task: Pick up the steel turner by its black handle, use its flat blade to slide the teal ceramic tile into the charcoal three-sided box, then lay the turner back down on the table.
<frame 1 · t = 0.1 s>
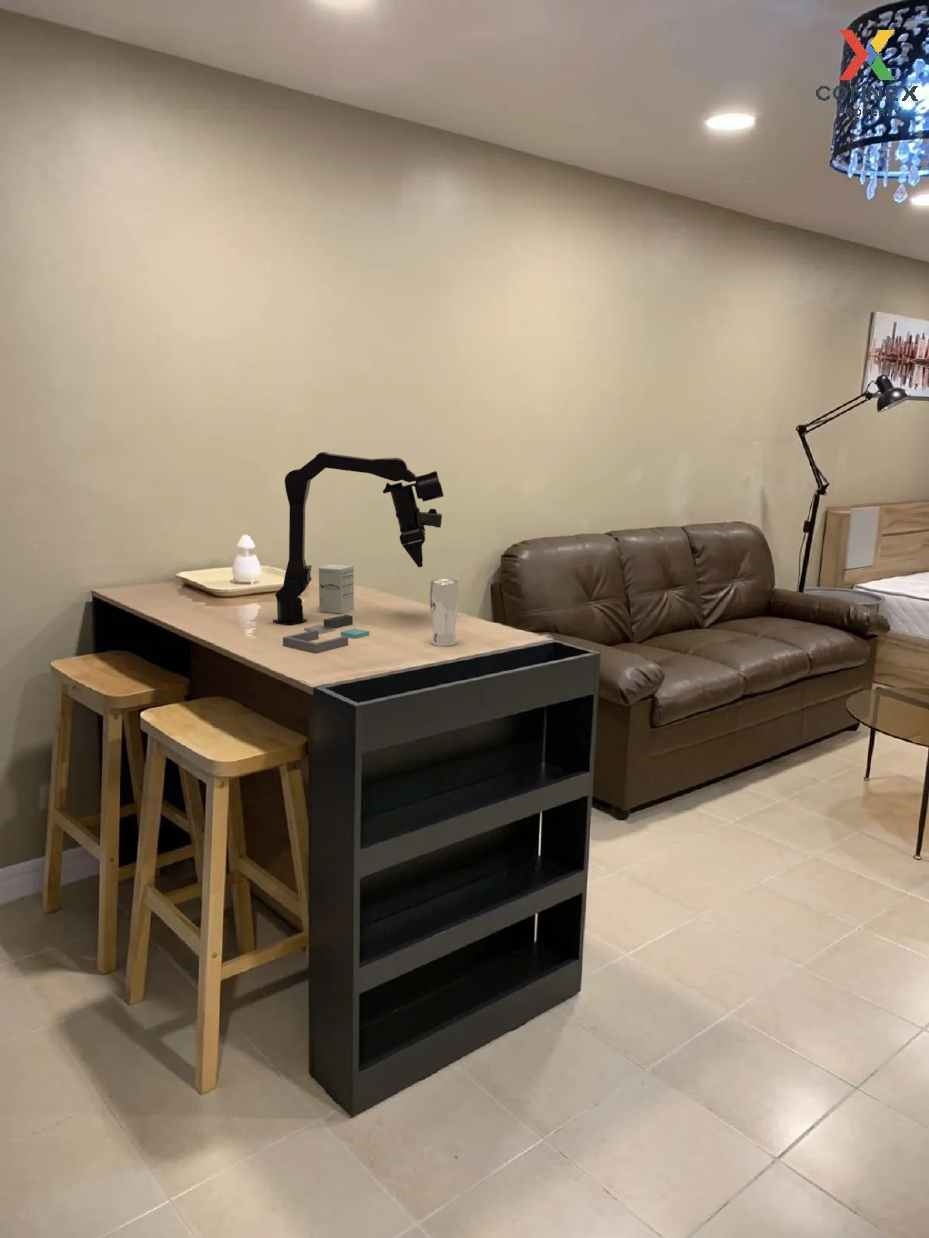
hand: (420, 564, 235), 15 cm above the worktop, tool pointing down, fingers open, 9 cm apart
tile: (355, 637, 223), on the worktop
turner: (331, 628, 231), on the worktop
supplement box: (337, 611, 252), on the worktop
corral: (317, 644, 213), on the worktop
beer glass: (444, 643, 216), on the worktop
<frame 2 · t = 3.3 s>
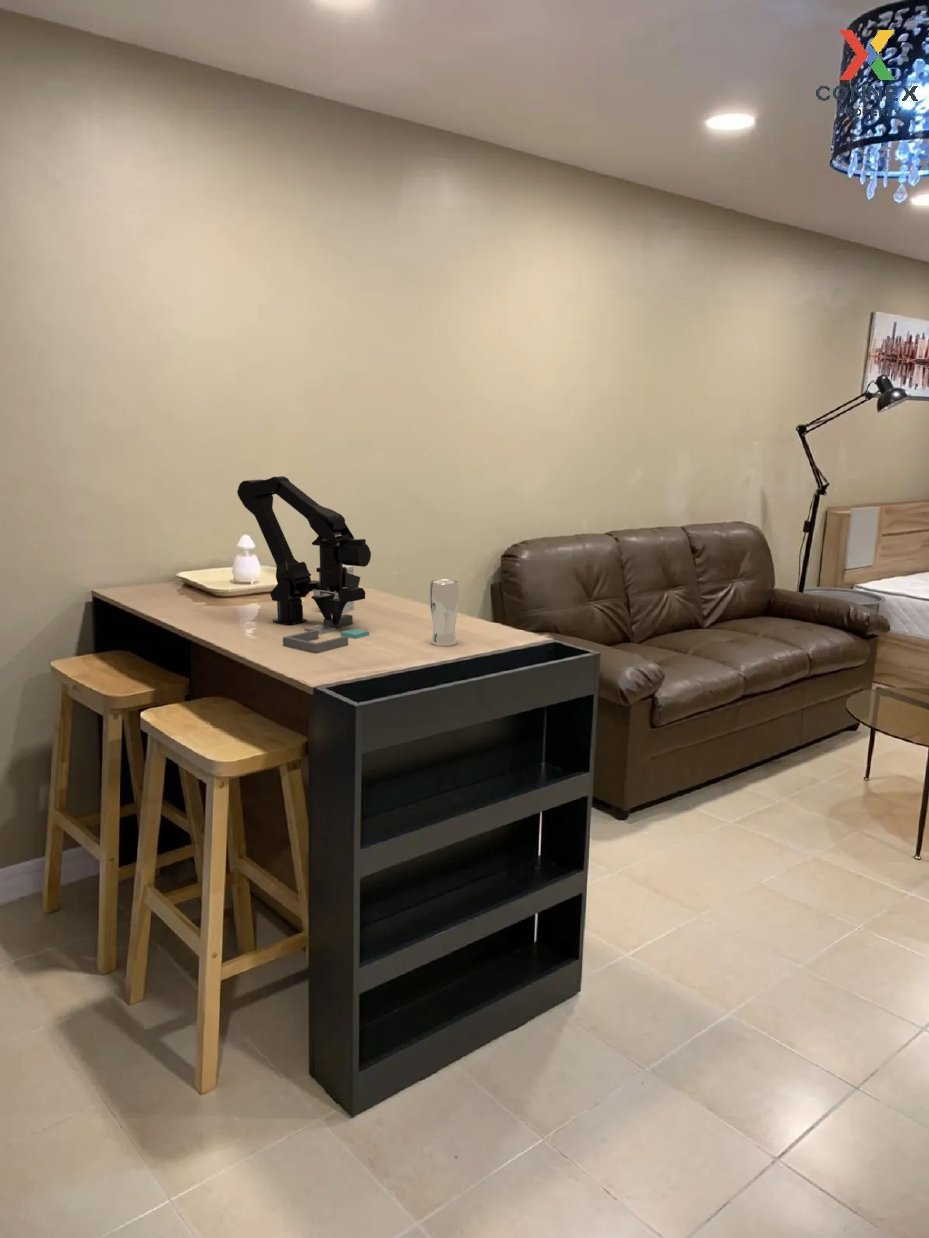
hand: (332, 623, 231), 1 cm above the worktop, tool pointing down, fingers closed on turner, 2 cm apart
turner: (331, 628, 231), on the worktop, touching gripper
everything else where it was.
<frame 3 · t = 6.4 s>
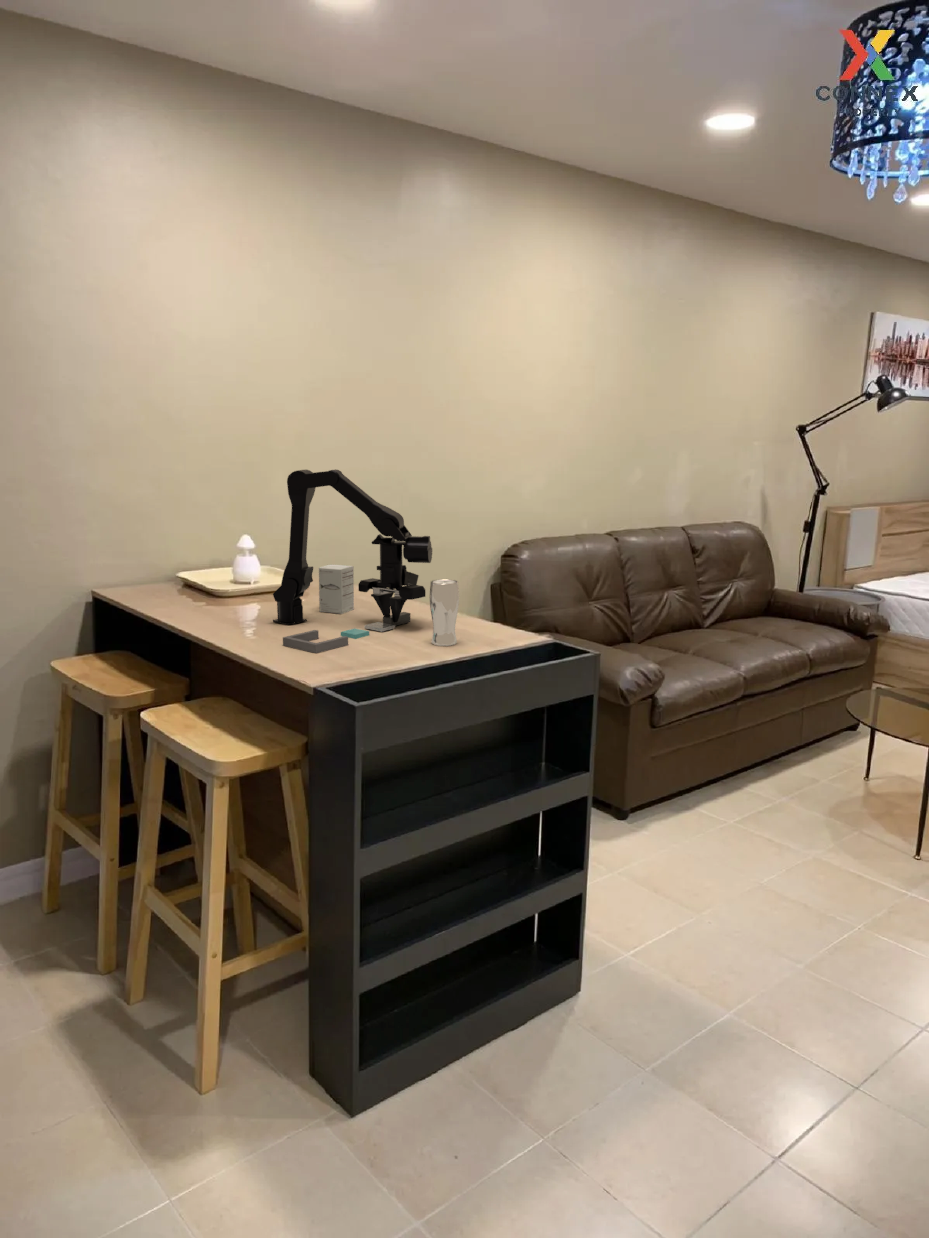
hand: (391, 621, 233), 1 cm above the worktop, tool pointing down, fingers closed on turner, 2 cm apart
turner: (390, 625, 233), on the worktop, touching gripper
everything else where it was.
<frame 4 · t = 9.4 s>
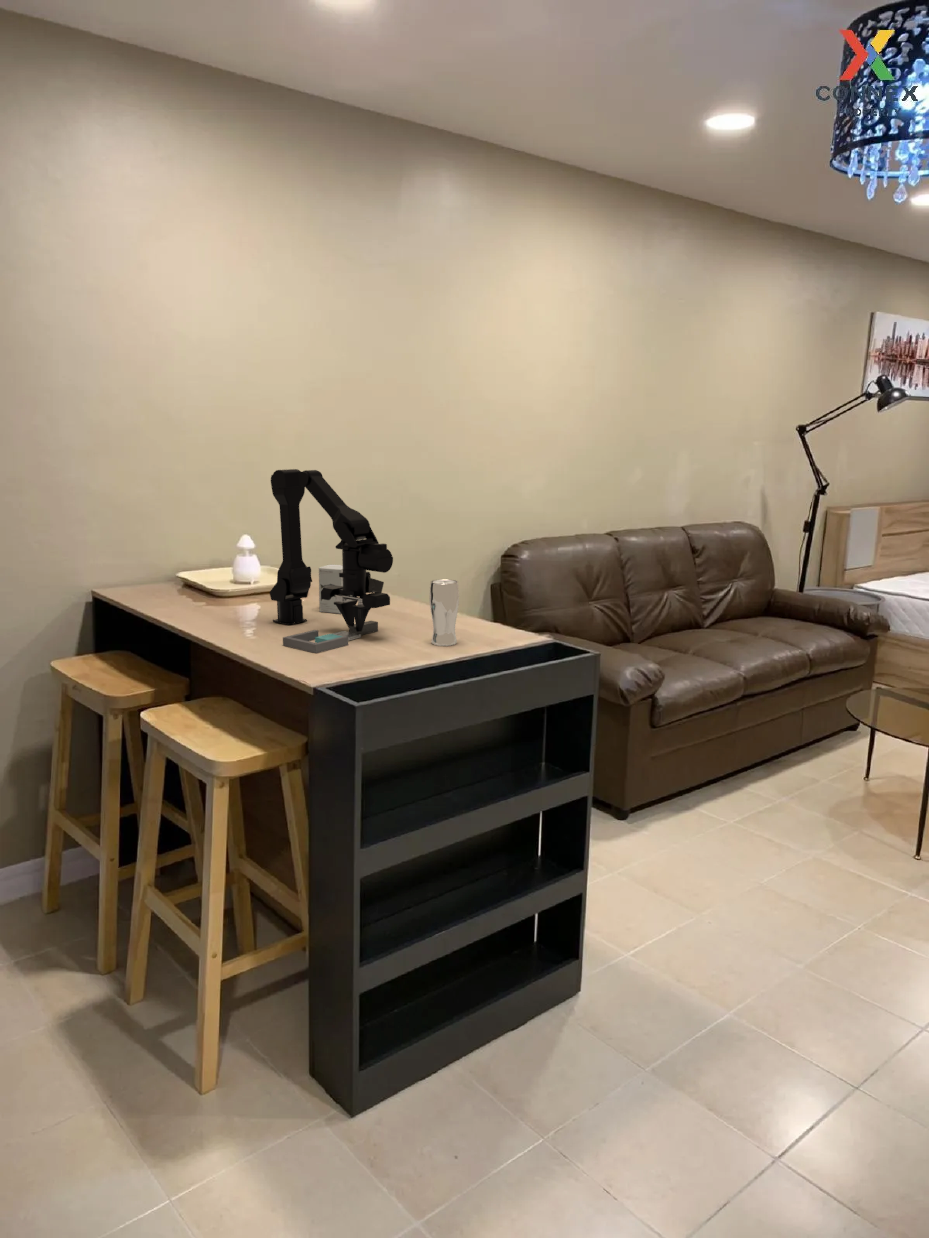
hand: (355, 630, 223), 1 cm above the worktop, tool pointing down, fingers closed on turner, 2 cm apart
tile: (329, 643, 216), on the worktop, touching turner
turner: (356, 634, 223), on the worktop, touching gripper, tile
everything else where it was.
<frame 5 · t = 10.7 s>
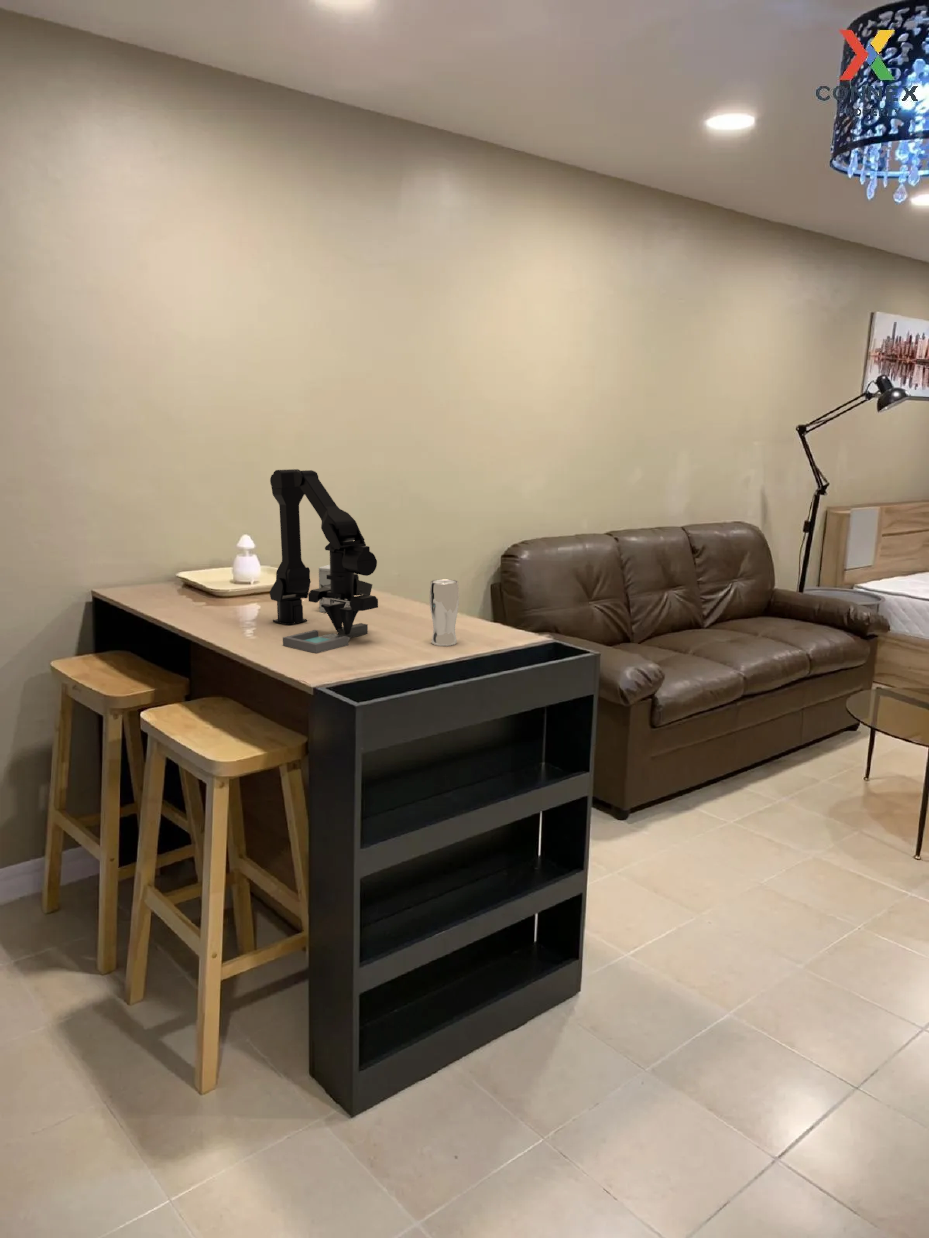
hand: (343, 633, 220), 1 cm above the worktop, tool pointing down, fingers closed on turner, 2 cm apart
tile: (318, 646, 213), on the worktop
turner: (345, 637, 220), on the worktop, touching gripper
everything else where it was.
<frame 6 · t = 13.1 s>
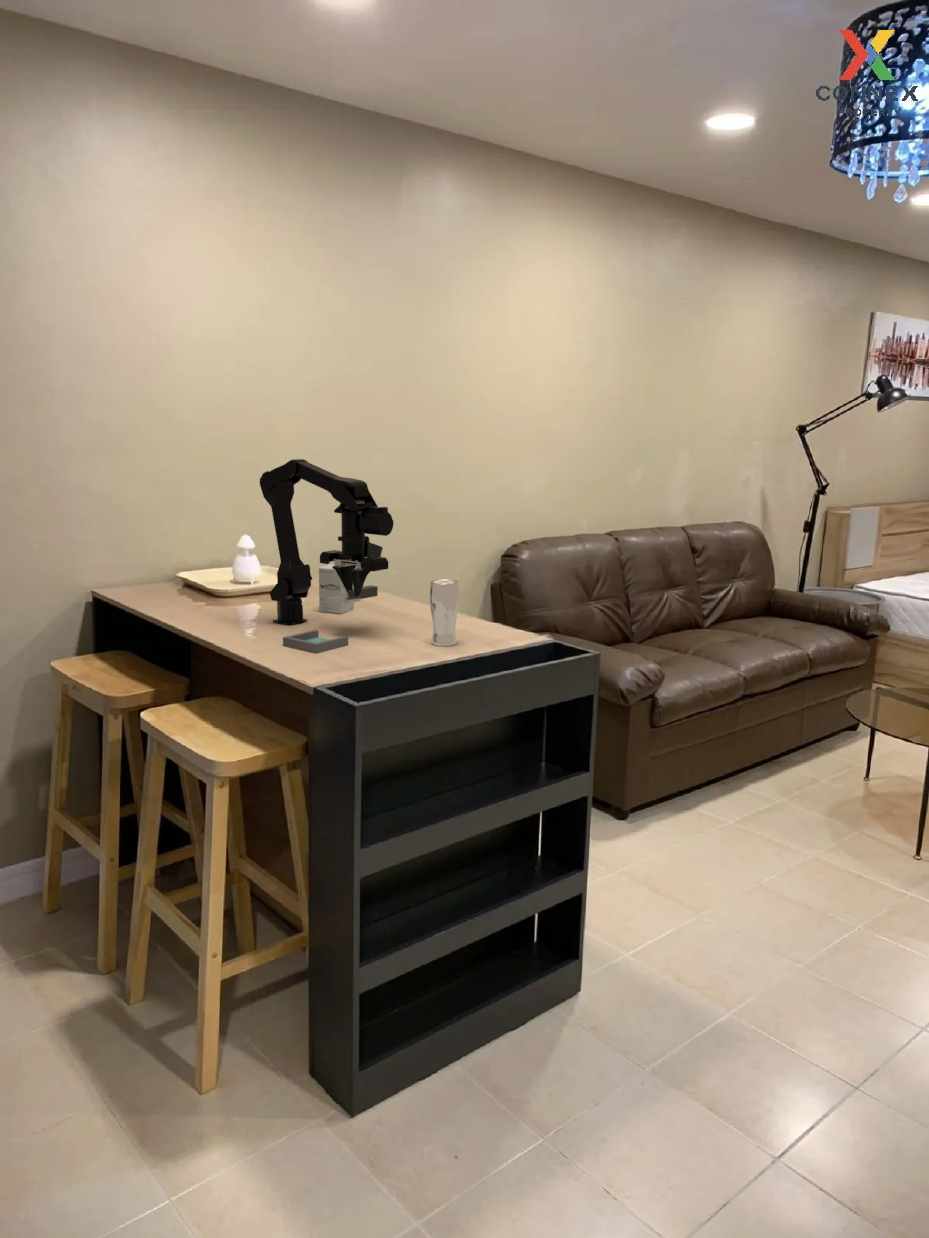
hand: (353, 594, 224), 10 cm above the worktop, tool pointing down, fingers closed on turner, 2 cm apart
turner: (355, 598, 224), point 9 cm above the worktop, touching gripper
everything else where it was.
when the fingers open (2 cm above the worktop, at t = 15.2 s): turner drops 2 cm, on the worktop.
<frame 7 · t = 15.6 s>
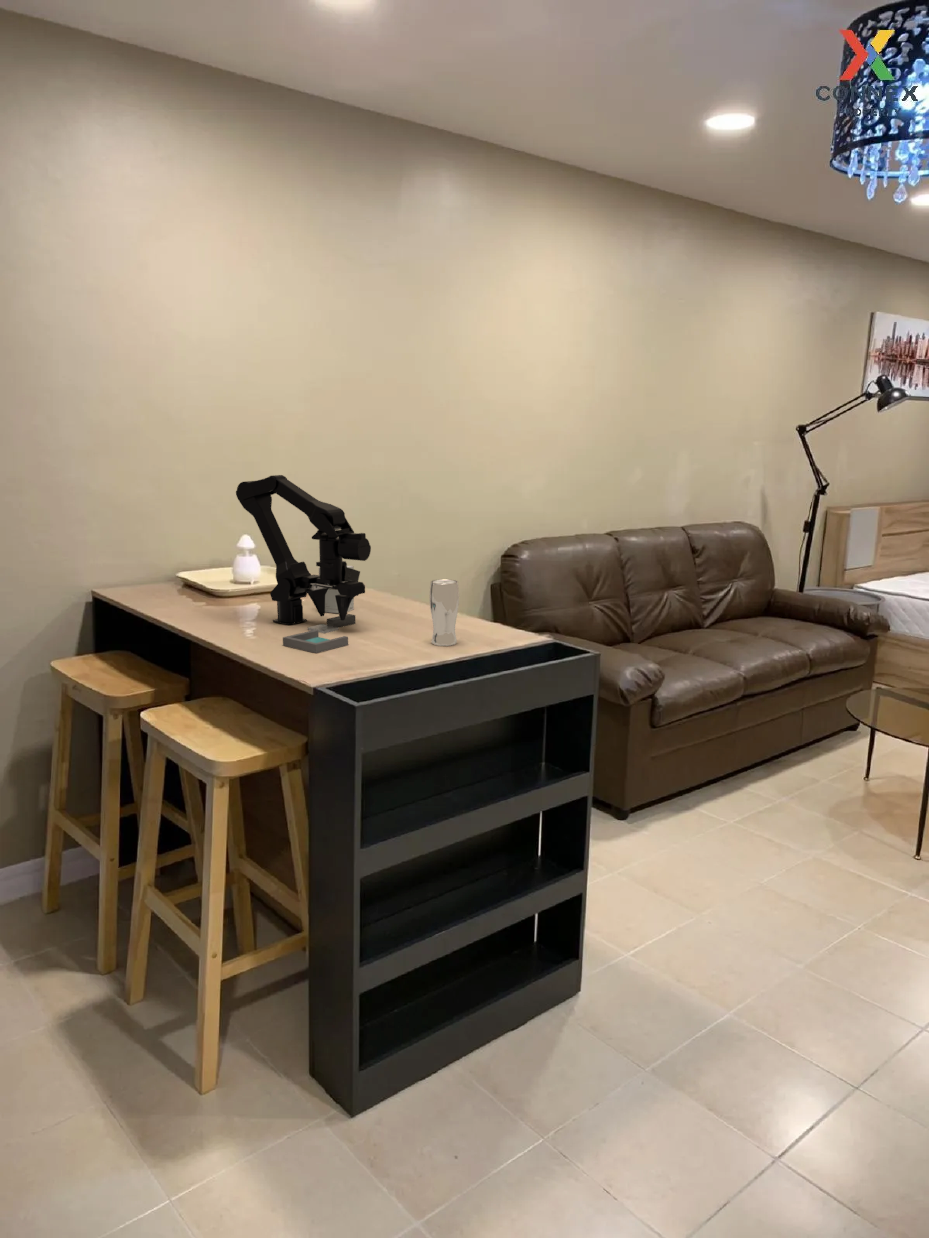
hand: (332, 618, 230), 2 cm above the worktop, tool pointing down, fingers open, 7 cm apart
turner: (334, 627, 232), on the worktop
everything else where it was.
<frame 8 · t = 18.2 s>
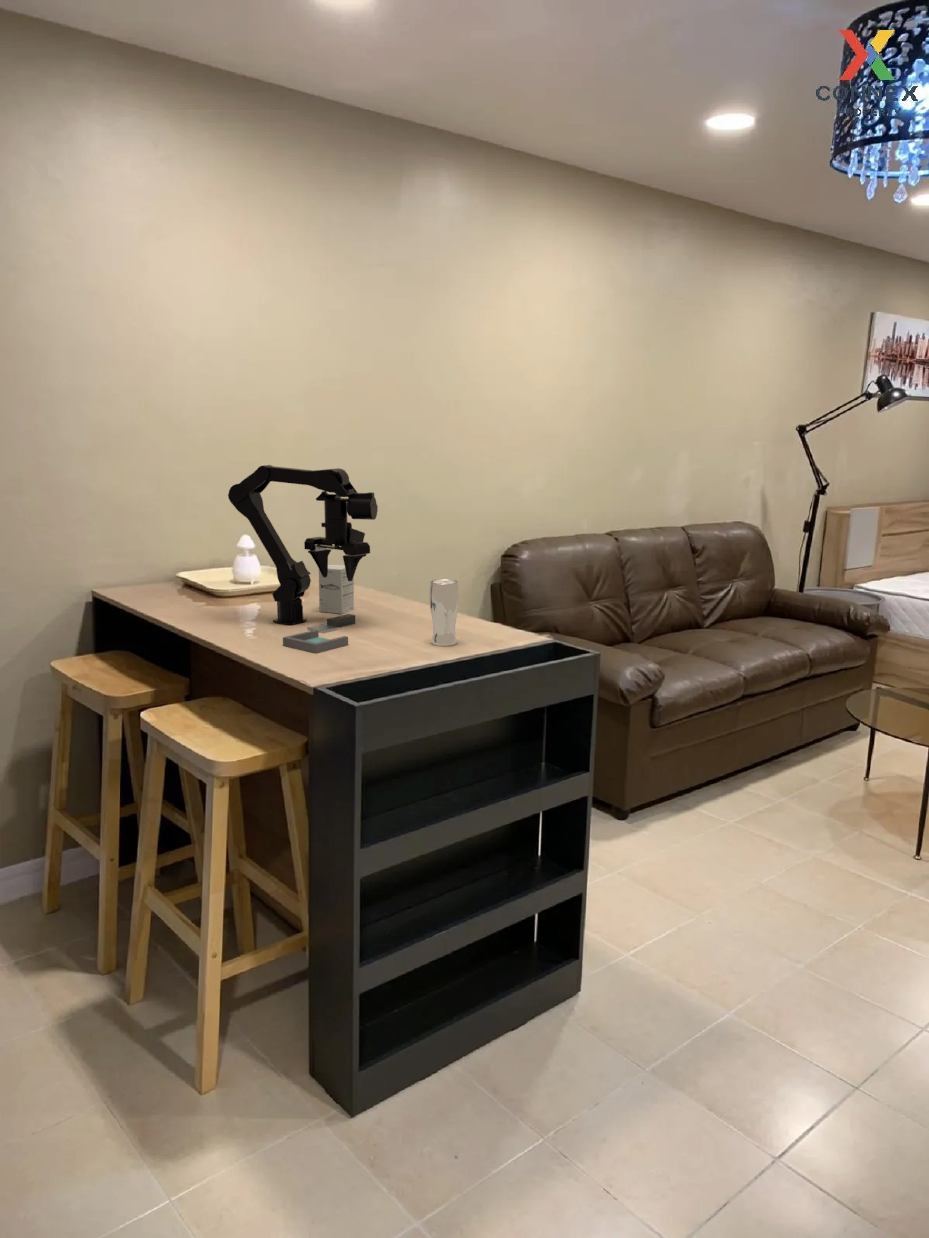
hand: (337, 579, 232), 12 cm above the worktop, tool pointing down, fingers open, 9 cm apart
nothing on the worktop moved.
at the end: tile 0.2 cm off-centre on the corral, point -0.5 cm above the corral's base; the gripper is holding nothing; turner touching worktop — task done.
